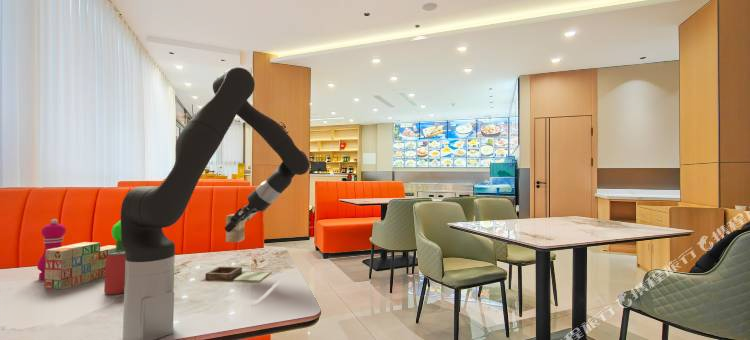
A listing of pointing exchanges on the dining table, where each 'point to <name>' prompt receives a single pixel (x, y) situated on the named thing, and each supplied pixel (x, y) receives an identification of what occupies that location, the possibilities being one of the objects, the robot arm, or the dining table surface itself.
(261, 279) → the puzzle board
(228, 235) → the maple block
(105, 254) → the stack of blocks
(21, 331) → the dining table surface
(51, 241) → the pepper mill
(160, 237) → the robot arm
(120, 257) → the beer can
